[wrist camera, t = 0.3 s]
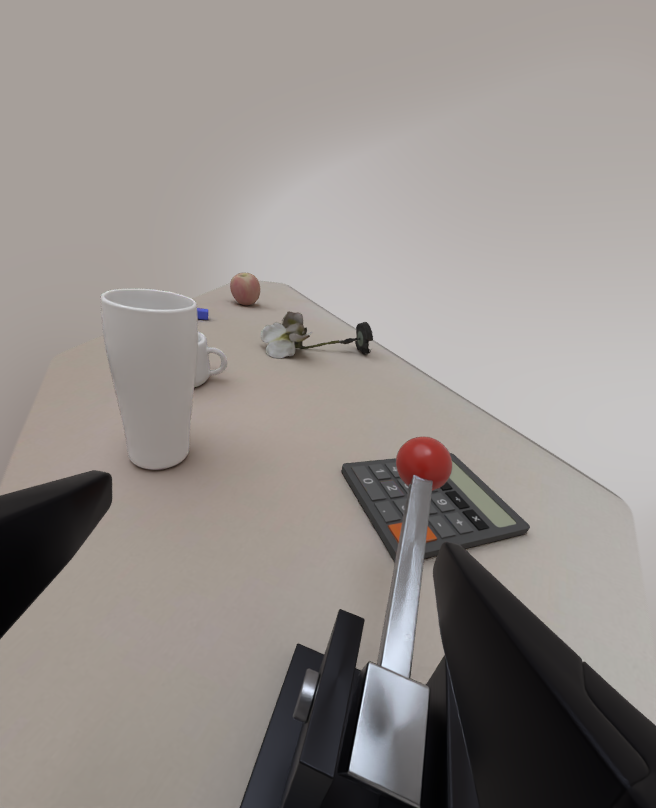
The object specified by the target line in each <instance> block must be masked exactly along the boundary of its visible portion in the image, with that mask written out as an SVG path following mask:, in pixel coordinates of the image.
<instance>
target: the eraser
mask: <svg viewBox="0 0 656 808" xmlns="http://www.w3.org/2000/svg"><path fill="white" fill-rule="evenodd" d="M197 316H198V319H203V320H208V309H201V308H197Z"/></svg>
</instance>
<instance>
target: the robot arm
mask: <svg viewBox="0 0 656 808" xmlns="http://www.w3.org/2000/svg"><path fill="white" fill-rule="evenodd" d="M111 503H112V477H111V475H110V474H109V473H106V472H101V471H96V470H93V471H89V472H85V473H82V474H78V475H74V476H71V477H67V478H63V479H60V480H56V481H52V482H49V483H45V484H41V485H38V486H34V487H30V488H27V489H23V490H19V491H16V492H12V493H8V494H5V495H1V496H0V639H1V638H2V637H3V635H4V634H5V633H6V632H7V631H8V630H9V629H10V628H11V627H12V625H13V624H14V623H15V622H16V621H17V620H18V619H19V618H20V616H21V615H22V614H23V613H24V612H25V611H26V610H27V609H28V607H29V606H30V605H31V604H32V603H33V602H34V601H35V600H36V598H37V597H38V596H39V595H40V594H41V593H42V592H43V591H44V590H45V588H46V587H47V586H48V585H49V584H50V583H51V582H52V581H53V579H54V578H55V577H56V576H57V575H58V574H59V573H60V572H61V570H62V569H63V568H64V567H65V566H66V565H67V564H68V562H69V561H70V560H71V559H72V558H73V556H74V555H75V554H76V552H77V551H78V550H79V549H80V547H81V546H82V544H83V543H84V542H85V540H86V539H87V538H88V536H89V535H90V534H91V532H92V531H93V530H94V528H95V527H96V526H97V524H98V523H99V521H100V520H101V519H102V517H103V516H104V515H105V513H106V512H107V511H108V509H109V508H110V506H111ZM433 578H434V586H435V595H436V603H437V611H438V619H439V627H440V634H441V639H442V644H443V648H444V653H445V657H446V662H447V666H448V670H449V675H450V679H451V684H452V688H453V693H454V697H455V701H456V706H457V710H458V715H459V719H460V724H461V728H462V732H463V737H464V741H465V746H466V750H467V754H468V759H469V763H470V768H471V772H472V777H473V781H474V785H475V790H476V794H477V799H478V803H479V808H656V726H655V725H654V724H653V723H652V722H651V721H650V720H649V719H647V718H646V717H645V716H644V715H643V714H642V713H641V712H639V711H638V710H637V709H636V708H635V707H634V706H632V705H631V704H630V703H629V702H628V701H627V700H626V699H625V698H624V697H623V696H621V695H620V694H619V693H618V692H617V691H616V690H615V689H614V688H613V687H612V686H611V685H609V684H608V683H607V682H606V681H605V680H604V679H603V678H602V677H601V676H600V675H599V674H598V673H596V672H595V671H594V670H593V669H592V668H591V667H590V666H589V665H588V664H587V663H586V662H582V659H581V658H580V657H579V656H578V655H577V654H576V653H575V652H574V651H573V650H572V649H571V648H570V647H569V646H568V645H566V644H565V643H564V642H563V641H562V640H561V639H560V638H559V637H558V636H557V635H556V634H555V633H554V632H553V631H552V630H550V629H549V628H548V627H547V626H546V625H545V624H544V623H543V622H542V621H541V620H540V619H539V618H538V617H537V616H536V615H534V614H533V613H532V612H531V611H530V610H529V609H528V608H527V607H526V606H525V605H524V604H523V603H522V602H521V601H519V600H518V599H517V598H516V597H515V596H514V595H513V594H512V593H511V592H510V591H509V590H508V589H507V588H506V587H505V586H503V585H502V584H501V583H500V582H499V581H498V580H497V579H496V578H495V577H494V576H493V575H492V574H491V573H490V572H489V571H487V570H486V569H485V568H484V567H483V566H482V565H481V564H480V563H479V562H478V561H477V560H476V559H475V558H474V557H472V556H471V555H470V554H469V553H468V552H467V551H466V550H465V549H464V548H463V547H462V546H461V545H459V544H456V543H451V542H444V543H443V544H442V545H441V547H440V550H439V553H438V555H437V558H436V561H435V564H434V567H433Z"/></svg>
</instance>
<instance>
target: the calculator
mask: <svg viewBox="0 0 656 808" xmlns="http://www.w3.org/2000/svg"><path fill="white" fill-rule="evenodd" d="M450 455H451V459H452V472H451V475H450V478H449V479H448V481H447V482H446V483H445V484H444V485H443V486H442V487H440V488H439V489H437V490H434V491H432V494H431V502H430V511H429V520H428V528H427V537H426V546H425V554H424V558H428V557H433V556H437V555H438V553H439V550H440V547H441V545H442V544H443V543H444V542H451V543H456V544H459V545H461V546H462V547H463V548H464V549H465V548H469V547H473V546H477V545H481V544H485V543H489V542H493V541H498V540H502V539H506V538H510V537H514V536H518V535H522V534H525V533H527V531H528V530H529V528H530V526H529V525H528V523H526V522H525V521H524V520H523V519H522V518H521V517H520V516H519V515H518V514H517V513H516V512H515V511H514V510H513V509H512V508H510V507H509V506H508V505H507V504H506V503H505V502H504V501H503V500H502V499H501V498H500V497H499V496H498V495H497V494H496V493H494V492H493V491H492V490H491V489H490V488H489V487H488V486H487V485H486V484H485V483H484V482H483V481H482V480H481V479H480V478H479V477H477V476H476V475H475V474H474V473H473V472H472V471H471V470H470V469H469V468H468V467H467V466H466V465H465V464H464V463H463V462H461V461H460V460H459V459H458V458H457V457H456V456H455V455H454V454H452V453H450ZM341 471H342V473H343V475H344V477H345V478H346V480H347V482H348V483H349V485H350V487H351V488H352V490H353V492H354V493H355V495H356V497H357V498H358V500H359V502H360V504H361V505H362V507H363V509H364V510H365V512H366V514H367V515H368V517H369V519H370V520H371V522H372V524H373V526H374V527H375V529H376V531H377V532H378V534H379V536H380V537H381V539H382V541H383V542H384V544H385V546H386V547H387V549H388V551H389V553H390V554H391V556H392V558H393V559H394V561H395V560H396V554H397V548H398V543H399V537H400V532H401V526H402V521H403V515H404V510H405V504H406V498H407V493H408V487H409V486H407V485H406V484H405V483H404V482H403V481H402V480H401V478H400V476H399V475H398V472H397V468H396V459H386V460H375V461H365V462H355V463H345V464H343V466H342V470H341Z"/></svg>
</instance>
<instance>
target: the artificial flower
mask: <svg viewBox="0 0 656 808" xmlns="http://www.w3.org/2000/svg"><path fill="white" fill-rule="evenodd" d="M283 319H284V320H282V322H283V323H282V324H280V323H277V322H276V323H274V324H273V325H266V326H265V328H264V329H263V330H262V331H261V340H262V341H263V342H265V343H268V346H267V348H266V351H267V353H268V354H269V355H270V356H271V357H273V358H283V357H285V356H293V355H294V353H295V348H301V349H308V348H313V347H318V346H322V345H326V344H335V343H343V344H348V343H351V342H353V341H355V343H356V347H357V349H358V350H360V351H361V352H362V353H364V354H368V353H370V352H371V351H370V352H369V348H368V346H369V344H368V343H369V341H372V340H373V336H372V331H371V328H370V326H369V324H368V323H367V322H363V323H360V324H358V325H357V327H356V334H357V338H355V339H351V338H349V339H346V340H344V341H343V340H342V341H339V340H338V341H331V342H328V343H321V344H317V345H313V346H307V347H305V346H302V341H303V340H305V339H306V338H308V337H310V336H309V335H310V334H311V333H312V332H310V333H308V334H306V332H307V328H304V326H303V316H302V314H300V313H293V312H287V313H286V315H285V316H284V318H283ZM356 340H357V341H356ZM267 353H266V354H267ZM268 354H267V355H268Z"/></svg>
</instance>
